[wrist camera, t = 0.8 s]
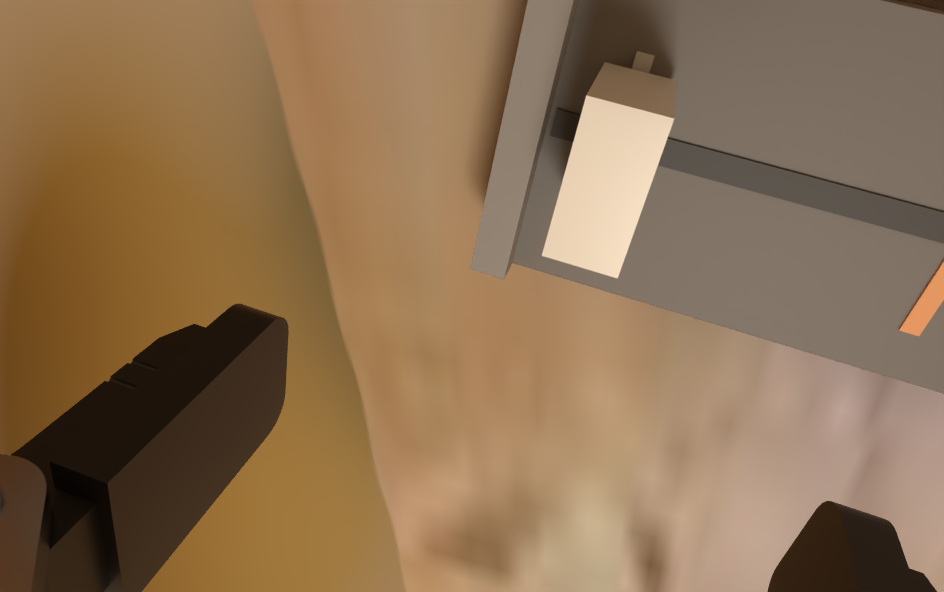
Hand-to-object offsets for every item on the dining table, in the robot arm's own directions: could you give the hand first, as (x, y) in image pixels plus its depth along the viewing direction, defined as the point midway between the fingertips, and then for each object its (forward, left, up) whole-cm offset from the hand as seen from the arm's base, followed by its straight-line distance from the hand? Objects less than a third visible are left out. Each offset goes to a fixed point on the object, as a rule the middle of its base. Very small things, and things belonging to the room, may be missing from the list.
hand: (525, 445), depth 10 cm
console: (0, +7, -20) cm, 21 cm away
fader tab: (0, 0, -16) cm, 16 cm away
